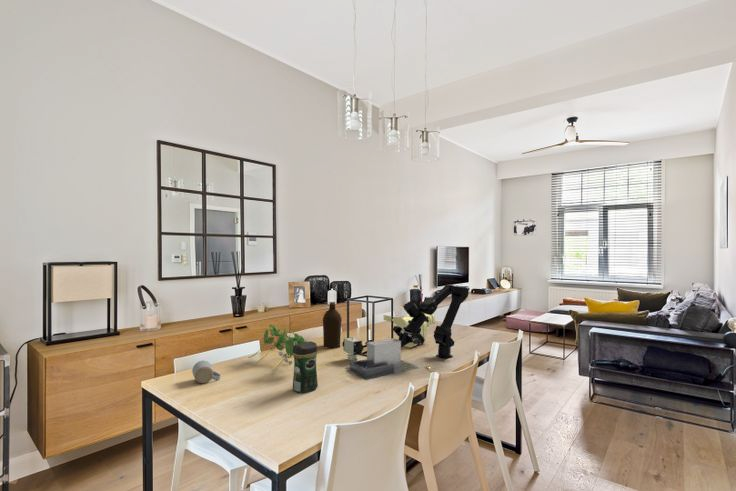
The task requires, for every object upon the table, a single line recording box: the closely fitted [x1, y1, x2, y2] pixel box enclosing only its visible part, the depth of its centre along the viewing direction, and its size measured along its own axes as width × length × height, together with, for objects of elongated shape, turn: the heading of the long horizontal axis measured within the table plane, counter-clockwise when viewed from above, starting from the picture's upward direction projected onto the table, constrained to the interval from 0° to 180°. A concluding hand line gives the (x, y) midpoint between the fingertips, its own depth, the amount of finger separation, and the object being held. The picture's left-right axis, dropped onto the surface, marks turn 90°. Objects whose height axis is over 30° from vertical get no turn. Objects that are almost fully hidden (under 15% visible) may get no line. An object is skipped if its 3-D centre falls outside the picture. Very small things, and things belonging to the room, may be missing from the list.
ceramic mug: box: [191, 360, 221, 385], centre depth 155 cm, size 11×8×8 cm
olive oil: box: [322, 301, 343, 349], centre depth 210 cm, size 11×11×25 cm
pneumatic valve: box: [341, 337, 364, 362], centre depth 183 cm, size 6×12×12 cm, turn 39°
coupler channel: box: [344, 358, 420, 381], centre depth 170 cm, size 30×18×4 cm, turn 123°
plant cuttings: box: [247, 324, 309, 373], centre depth 174 cm, size 35×17×22 cm
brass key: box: [424, 365, 435, 373], centre depth 169 cm, size 8×3×1 cm, turn 11°
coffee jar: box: [292, 340, 318, 394], centre depth 147 cm, size 10×8×19 cm
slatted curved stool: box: [383, 313, 436, 348], centre depth 217 cm, size 30×16×18 cm, turn 139°
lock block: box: [366, 337, 402, 369], centre depth 171 cm, size 16×6×12 cm, turn 123°
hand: (398, 348), depth 175 cm, fingers closed
